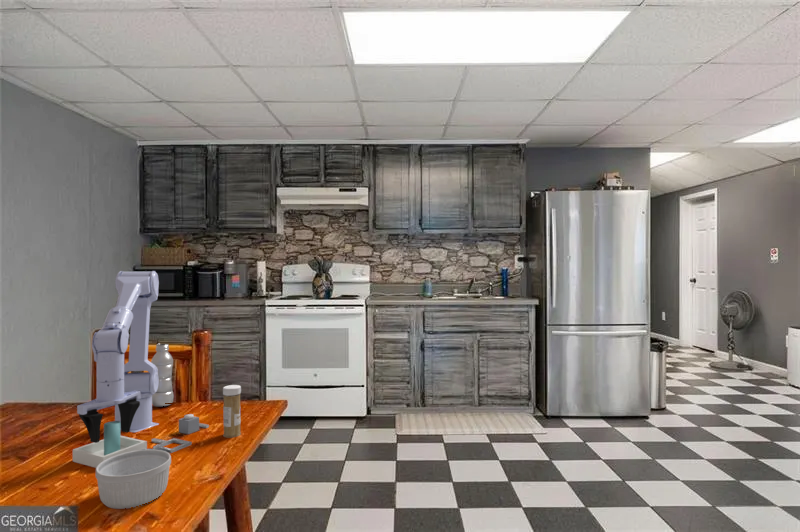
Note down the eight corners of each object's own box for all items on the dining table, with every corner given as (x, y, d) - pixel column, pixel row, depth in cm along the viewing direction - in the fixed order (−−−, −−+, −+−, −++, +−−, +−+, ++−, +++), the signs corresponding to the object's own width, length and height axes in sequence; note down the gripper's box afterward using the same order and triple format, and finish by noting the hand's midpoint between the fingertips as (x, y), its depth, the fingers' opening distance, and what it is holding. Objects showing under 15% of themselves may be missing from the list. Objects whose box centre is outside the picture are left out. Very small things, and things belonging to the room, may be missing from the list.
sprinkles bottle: (243, 437, 131) (243, 386, 131) (225, 440, 129) (225, 389, 129) (238, 432, 135) (238, 383, 135) (221, 435, 133) (221, 385, 133)
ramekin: (118, 520, 89) (118, 481, 89) (81, 501, 96) (81, 465, 96) (184, 491, 100) (184, 457, 100) (147, 476, 107) (147, 444, 107)
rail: (151, 443, 127) (151, 439, 127) (196, 426, 140) (196, 422, 140) (164, 446, 125) (164, 441, 125) (208, 429, 138) (208, 424, 138)
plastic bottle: (178, 404, 162) (178, 343, 162) (162, 410, 156) (162, 346, 156) (162, 402, 164) (162, 342, 164) (146, 408, 158) (146, 345, 158)
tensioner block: (122, 463, 114) (122, 452, 114) (173, 442, 127) (173, 433, 127) (141, 467, 112) (141, 457, 112) (191, 446, 125) (191, 437, 125)
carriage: (178, 432, 134) (178, 416, 134) (189, 428, 137) (189, 412, 137) (188, 434, 132) (188, 418, 132) (199, 430, 135) (199, 414, 135)
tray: (72, 461, 115) (72, 449, 115) (117, 445, 125) (116, 434, 125) (103, 469, 111) (103, 457, 111) (146, 452, 121) (146, 441, 121)
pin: (100, 456, 117) (100, 425, 117) (111, 451, 120) (111, 420, 120) (112, 458, 116) (112, 426, 116) (123, 452, 119) (123, 421, 119)
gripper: (91, 388, 110) (91, 449, 110) (149, 375, 123) (149, 429, 123) (71, 385, 113) (71, 444, 113) (129, 372, 126) (129, 425, 126)
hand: (110, 436), depth 118 cm, fingers open, 7 cm apart
